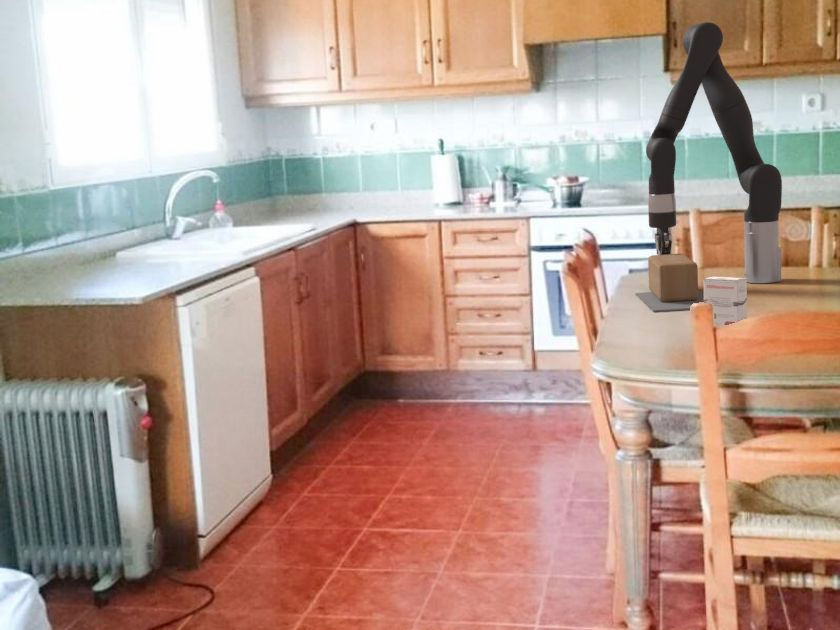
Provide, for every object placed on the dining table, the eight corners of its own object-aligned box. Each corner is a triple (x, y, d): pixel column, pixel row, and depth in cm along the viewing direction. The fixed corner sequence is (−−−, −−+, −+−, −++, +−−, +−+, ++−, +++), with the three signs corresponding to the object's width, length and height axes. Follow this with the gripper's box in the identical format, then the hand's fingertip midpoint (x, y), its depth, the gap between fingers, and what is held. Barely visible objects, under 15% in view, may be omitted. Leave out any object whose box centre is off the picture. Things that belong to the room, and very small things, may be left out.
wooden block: (684, 253, 292) (698, 262, 273) (684, 288, 294) (699, 300, 274) (647, 255, 293) (659, 265, 273) (648, 290, 295) (660, 303, 275)
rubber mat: (697, 291, 292) (697, 289, 292) (721, 308, 265) (721, 306, 265) (635, 294, 293) (635, 293, 292) (653, 312, 266) (653, 310, 266)
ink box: (748, 328, 239) (747, 276, 237) (738, 332, 236) (737, 280, 234) (713, 325, 245) (712, 275, 243) (702, 329, 242) (701, 278, 239)
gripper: (680, 211, 289) (681, 273, 292) (671, 207, 302) (672, 267, 305) (652, 212, 289) (654, 275, 292) (644, 208, 302) (646, 268, 305)
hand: (663, 271), depth 299 cm, fingers closed
